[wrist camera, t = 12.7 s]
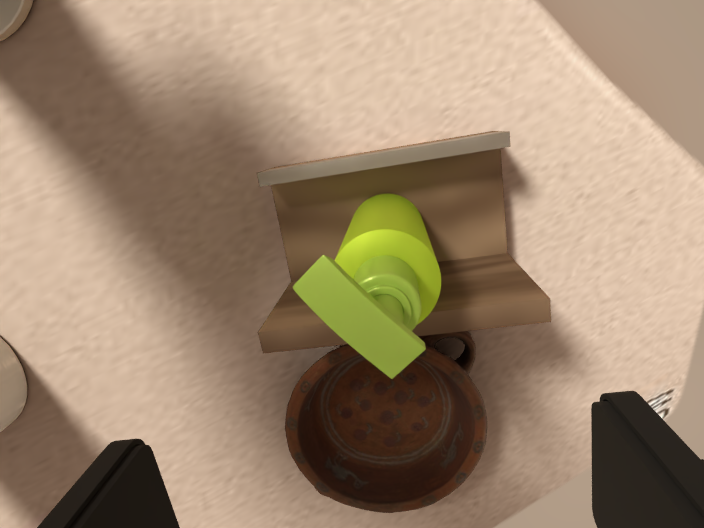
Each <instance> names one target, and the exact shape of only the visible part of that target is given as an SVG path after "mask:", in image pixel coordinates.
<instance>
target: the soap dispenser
mask: <svg viewBox="0 0 704 528" xmlns="http://www.w3.org/2000/svg"><path fill="white" fill-rule="evenodd" d="M293 289H294V291H295V292H296V293H297V294H298V295H299V296H300V298H301V299H302V300H303V301H304V302H305V303H306V304H307V305H308V306H309V307H310V308H311V309H312V310H313V311H314V312H315V313H316V314H317V315H318V316H319V317H320V318H321V319H322V320H323V321H324V322H325V323H326V324H327V325H328V326H329V327H330V328H331V329H332V330H333V331H334V332H335V333H336V334H338V335H339V336H340V337H341V338H342V339H343V340H344V341H346V342H347V343H348V344H349V345H350V346H351V347H353V348H354V349H355V350H356V351H357V352H359V353H360V354H361V355H362V356H363V357H365V358H366V359H367V360H368V361H370V362H371V363H372V364H373V365H375V366H376V367H377V368H378V369H380V370H381V371H382V372H383V373H385V374H386V375H387V376H388V377H390V378H391V379H393V378H394V377H395V376H396V375H397V374H398V373H400V372H401V371H402V370H403V369H404V368H405V367H406V366H407V365H409V364H410V363H411V362H412V361H413V360H414V359H415V358H417V357H418V356H419V355H420V354H421V353H422V352H423V351H424V350H425V349H426V347H425V342H424V341H423V340H421V339H420V338H419V337H418V336H417V335H416V334H414V333H413V332H412V331H413V329H414V328H415V327H416V325H417V324H419V323H420V322H422V321H423V320H424V319H425V318H426V317H427V316H428V315H429V314H430V313H431V311H432V310H433V308H434V307H435V305H436V303H437V301H438V298H439V295H440V290H441V273H440V269H439V265H438V262H437V260H436V257H435V254H434V251H433V248H432V245H431V242H430V240H429V237H428V234H427V231H426V228H425V225H424V223H423V220H422V217H421V215H420V213H419V211H418V209H417V208H416V207H415V205H414V204H413V203H412V202H410V201H409V200H408V199H406V198H404V197H402V196H399V195H396V194H379V195H375V196H373V197H371V198H369V199H367V200H366V201H364V202H363V203H362V204H361V205H360V206H359V207H358V209H357V210H356V212H355V214H354V216H353V218H352V220H351V223H350V225H349V228H348V230H347V232H346V235H345V237H344V239H343V242H342V244H341V247H340V249H339V251H338V254H337V256H336V258H335V261H334V260H333V259H332V258H330V257H328V256H325V255H322V256H321V257H320V258H319V259H318V260H317V261H316V262H315V263H314V264H313V265H312V266H311V267H310V269H309V270H308V271H307V272H306V273H305V274H304V275H303V276H302V277H301V278H300V279H299V280H298V281H297V282H296V283H295V285H294V286H293Z"/></svg>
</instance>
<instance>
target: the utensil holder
mask: <svg viewBox="0 0 704 528" xmlns="http://www.w3.org/2000/svg"><path fill="white" fill-rule="evenodd" d="M26 398H27V382H26V377H25V374H24V371H23V368H22V366H21V364H20V362H19V360H18V358H17V356H16V355H15V353H14V352H13V351H12V349H11V348H10V346H9V345H8V344H7V343H6V342H5V341H4V340H3V339H2V338H1V337H0V432H1V431H3V430H4V429H5V428H6V427H7V426H9V425H10V424H11V423H12V422H13V421H14V420H15V419H16V418H17V417H18V416H19V415H20V413H21V412H22V410H23V408H24V406H25V403H26Z"/></svg>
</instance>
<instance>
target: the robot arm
mask: <svg viewBox="0 0 704 528" xmlns="http://www.w3.org/2000/svg"><path fill="white" fill-rule="evenodd" d="M32 3H33V0H0V41H2V40H5V39H6V38H8V37H9V36H10V35H12V34H13V33H14V32H15V31H17V29H18V28H19V27H20V26H21V24H22V23H23V22H24V21H25V19H26V17H27V15H28V13H29V11H30V9H31V7H32ZM591 411H592V510H593V516H594V519H595V523H596V525H597V528H704V460H703V459H702V460H700V458H699V457H698V456H697V455H696V454H695V453H694V452H693V451H692V450H691V449H690V448H689V447H688V446H687V445H686V444H685V443H684V442H683V441H682V439H680V437H679V436H678V435H677V434H676V433H675V432H674V431H673V430H672V429H671V428H670V427H669V426H668V425H667V424H666V422H665V421H664V420H663V419H662V418H661V417H660V416H659V415H658V414H657V413H656V412H655V411H654V410H653V409H652V408H651V407H650V406H649V404H648V403H647V402H646V401H645V400H644V399H643V398H642V397H641V396H640V395H639V394H638V393H637V392H635V391H625V392H614V393H604V394H602V395H601V397H600V402H594V403H593V404H592V409H591ZM37 528H180V527H179V524H178V521H177V519H176V516H175V513H174V510H173V507H172V505H171V502H170V499H169V496H168V493H167V491H166V488H165V485H164V482H163V479H162V476H161V474H160V471H159V468H158V465H157V462H156V460H155V457H154V454H153V451H152V449H151V447H150V446H149V445H145V443H144V442H143V441H142V440H141V439H130V440H119V441H114V442H111V443H110V444H109V445H108V446H107V447H106V448H105V449H104V450H103V452H102V453H101V454H100V455H99V456H98V457H97V459H96V460H95V461H94V462H93V463H92V464H91V465H90V467H89V468H88V469H87V470H86V471H85V472H84V474H83V475H82V476H81V477H80V478H79V479H78V481H77V482H76V483H75V484H74V485H73V486H72V488H71V489H70V490H69V491H68V492H67V493H66V495H65V496H64V497H63V498H62V499H61V500H60V502H59V503H58V504H57V505H56V506H55V507H54V509H53V510H52V511H51V512H50V513H49V514H48V516H47V517H46V518H45V519H44V520H43V521H42V523H41V524H40V525H39V526H38V527H37Z"/></svg>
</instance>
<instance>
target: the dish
mask: <svg viewBox="0 0 704 528" xmlns="http://www.w3.org/2000/svg"><path fill="white" fill-rule="evenodd" d="M418 337H419V338H420V339H421V340H423V341H424V342H425V347H426V349H425V350H424V351H423V352H422V353H421V354H420V355H419V356H418V357H417V358H415V359H414V360H413V361H412V362H411V363H410V364H409V365H407V366H406V367H405V368H404V369H403V370H402V371H401V372H400V373H398V374H397V375H396V376H395V377H394V378H393V379H391V378H390V377H388V376H387V375H386V374H385V373H383V372H382V371H381V370H380V369H378V368H377V367H376V366H375V365H373V364H372V363H371V362H370V361H368V360H367V359H366V358H365V357H363V356H362V355H361V354H360V353H359V352H357V351H356V350H355V349H354V348H353V347H351V346H350V345H349V344H346V345H343V346H341V347H339V348H337V349H335V350H333V351H331V352H329V353H327V354H326V355H325V356H324V357H322V358H321V359H320V360H318V361H317V362H316V363H315V364H313V365H312V366H311V367H310V368H309V369H308V370H307V371H306V372H305V374H304V375H303V376H302V377H301V379H300V380H299V381H298V383H297V385H296V386H295V388H294V390H293V392H292V395H291V398H290V401H289V403H288V407H287V413H286V422H285V430H286V437H287V442H288V447H289V450H290V453H291V455H292V457H293V459H294V461H295V463H296V464H297V466H298V468H299V469H300V471H301V472H302V473H303V474H304V476H305V477H306V478H307V479H308V480H309V481H310V482H311V484H312V485H313V486H314V487H315V488H316V490H317V491H318V492H319V493H320V494H322V495H324V496H327V497H330V498H331V499H333V500H335V501H338V502H340V503H343V504H345V505H349V506H352V507H356V508H360V509H364V510H369V511H374V512H383V513H393V512H402V511H409V510H415V509H419V508H422V507H425V506H428V505H431V504H433V503H435V502H437V501H439V500H440V499H442V498H444V497H445V496H447V495H449V494H450V493H451V492H453V491H454V490H455V489H456V488H458V487H459V486H460V485H461V484H462V483H463V482H464V481H465V479H466V478H467V477H468V476H469V475H470V473H471V472H472V471H473V470H474V468H475V466H476V465H477V463H478V461H479V459H480V457H481V454H482V452H483V450H484V446H485V442H486V433H487V417H486V411H485V406H484V402H483V400H482V397H481V395H480V393H479V391H478V389H477V388H476V386H475V385H474V383H473V382H472V380H471V379H470V377H469V376H468V373H469V371H470V369H471V367H472V365H473V362H474V359H475V352H476V347H475V343H474V341H473V339H472V337H471V335H470V333H469V332H468V331H461V332H452V333H443V334H434V335H425V336H418ZM449 337H455V338H457V339H459V340H461V341H462V342H463V343H464V344H465V348H464V351H463V353H462V354H461V355H460V357H458V358H457V359H456V360H453V359H452V358H451V357H448V356H446V355H444V354H442V353H440V352H439V351H438V350H436V349H435V348H434V345H435V343H436V342H437V341H439V340H441V339H443V338H449Z"/></svg>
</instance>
